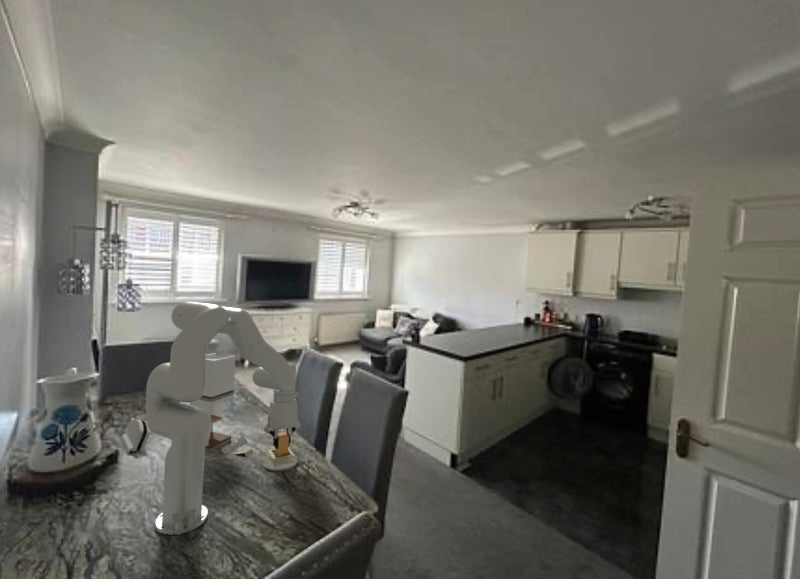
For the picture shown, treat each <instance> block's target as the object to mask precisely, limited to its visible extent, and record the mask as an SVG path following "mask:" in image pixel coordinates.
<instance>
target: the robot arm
mask: <svg viewBox="0 0 800 579" xmlns="http://www.w3.org/2000/svg"><path fill="white" fill-rule="evenodd" d="M170 319H171V321H172V324H173V325H174V326H175V327H176V328H177V329H179V330H181V331H180V332H179V333H178V335H177V336H176V337H175V339H174V340H173V343H172V345H171V348H170V359H169V362H164V363H161V364H159V365H157V366H156V367H155V368H154V369H153V370H152V371H151V373H150V374H149V376H148V379H147V383H146V388H145V389H146V392H145V396H146V397H145V406H146V407H145V419H146V420H145V421H147V426H148V428H149V429H150V432H151V433H153V434H154V435H157V436H161V437H163V438H166V439H168V440H171V445H170V446H169V448H168V450H167V452H166V455H165V458H164V473H163V474H164V476H163V494H162V496H163V497H162V511H161V513H160V514H159V515H158V516H157V517H156V519H155V522H154V527H155V530H156V531H157V532H158V533H159V534H162V533H163V535H167V534H168V536H170V535H171V536H173V535H174V534H175V535H182V534H184V533H185V534H186V533H188V532H190V531H193V530H196V529H197V528H199V527H200V526H201V525H202V524H204V523H205V522H206V520H207V519H208V514H209V512H208V511H209V510H208V508H207V507H206V506H205V505H203V497H204V496H203V491H204V478H205V477H204V473H205V457H206V456H205V455H206V451H205V446H206V440H207V436H208V432H209V428H210V417H209V415H208V414H207V412H206V411H205V410H203V409H201V408H199V407H196V406H193V405H190V402H195V401H197V400H198V399H200V398H201V396H202V395H203V393H204V389H205V368H206V355H207V351H208V347H209V346H210V344H211V342H212V341H213V340H214V338H215V337H216V336H217V335H218V334H224V335H227V336H228V338H229V339H230V341H231V342H232V344H233V345H234V347H235V349H236V350H237V352H238V353H239V355H240V356H241V357H242V358H243V359H245V361H248V362H250V363H251V364H252V365H256V366H257V367H258V368H256V369H255V370H254V372H253V373H252V381H253V384H255V385H256V386H257V387H259V388H263V389H268V390H273V397H272V398H273V399H271V400H270V404H269V407H268V413H267V422H266V425H265V426H264V428H263V431H264V433H265V434H269V435H270V436H272V439H273V440H272V441H273V442H272V445H273V447H274V448H276V449H278V441H279V438H278V433H280V430H285V429H286V433H287V435H288V436H289V444H288V447H289V448H290V444H291V443H292V442H291V439H292V438H291V437H292V436H293V433H294V432H295V431H296V430H297V429H299V428H300V427H301V426H302V425H301V423H300V421H299V417H298V416H299V415H298V413H299V412H298V410H299V409H298V402H297V399H296V398H297V397H299V393H300V392H296V383H297V382H296V380H297V366H296V364H295V363H294V362H293V363H292V362H289V361H287V359H286V358H285V357H284V355H282V354H281V353H280V352H278V351H277V350H276V349H275V348H274V347H273V346H272V345H270V344H269V343H268V342H267V341H266V340H265V339H264V337H263V335H262V333H261V332H260V330H259V328H258V326H257V325H256V323H255V321H254V319H253V318H252V315H251V314H250V313H249V312H248V311H247V310H245V309H243V308H239V307H231V306H230V307H229V306H221V305H219V304H216V303H207V302H197V301H183V302H180V303H179V304H177V305H175V307H174V308H173V309H172V312H171V318H170ZM188 403H189V404H188Z"/></svg>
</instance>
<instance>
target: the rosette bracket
mask: <svg viewBox="0 0 800 579" xmlns="http://www.w3.org/2000/svg"><path fill="white" fill-rule="evenodd" d="M266 454H267V456H265V457H264V458H263V461H262V466H263V468H264V469H266V470H268V471H271V472H285V471H288V470H291V469H293V468H295V467H296V466H297V464H298V456H297V454H295V453H294V452H293V451H292V449H291V448H290V446H289V447H288V453H283V454H278V453H277V452H276V450H275V447H274V448H270V449H267V451H266Z"/></svg>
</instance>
